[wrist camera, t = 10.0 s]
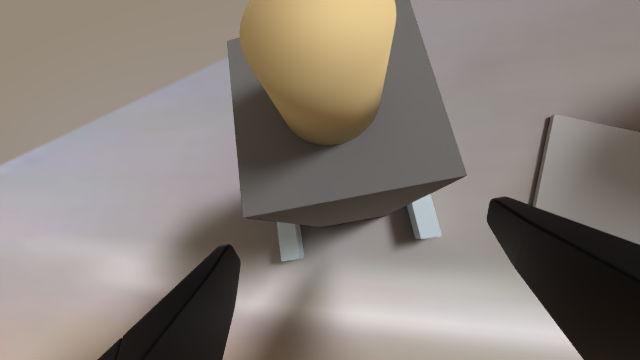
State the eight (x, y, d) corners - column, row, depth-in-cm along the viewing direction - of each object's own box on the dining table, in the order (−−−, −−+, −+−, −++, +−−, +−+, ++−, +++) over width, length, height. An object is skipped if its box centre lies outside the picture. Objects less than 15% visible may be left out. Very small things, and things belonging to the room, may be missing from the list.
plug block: (386, 215, 16) (553, 133, 3) (321, 227, 17) (169, 209, 3) (371, 154, 17) (434, -139, 4) (311, 166, 18) (165, -51, 4)
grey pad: (710, 306, 13) (718, 308, 12) (524, 246, 14) (527, 246, 14) (722, 152, 14) (730, 151, 14) (550, 116, 16) (554, 113, 16)
